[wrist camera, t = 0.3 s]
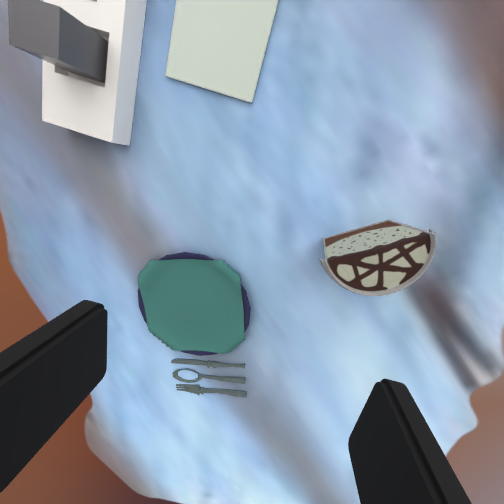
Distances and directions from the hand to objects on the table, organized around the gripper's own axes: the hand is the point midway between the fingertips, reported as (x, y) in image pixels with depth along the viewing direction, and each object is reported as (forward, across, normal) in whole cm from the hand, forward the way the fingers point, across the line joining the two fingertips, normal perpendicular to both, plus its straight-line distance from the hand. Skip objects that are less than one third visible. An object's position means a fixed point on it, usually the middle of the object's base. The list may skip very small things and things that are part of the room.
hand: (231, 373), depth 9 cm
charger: (+29, +27, -15) cm, 42 cm away
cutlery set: (+31, +9, +23) cm, 40 cm away
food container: (+31, -13, +2) cm, 34 cm away
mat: (+31, +12, -22) cm, 39 cm away
